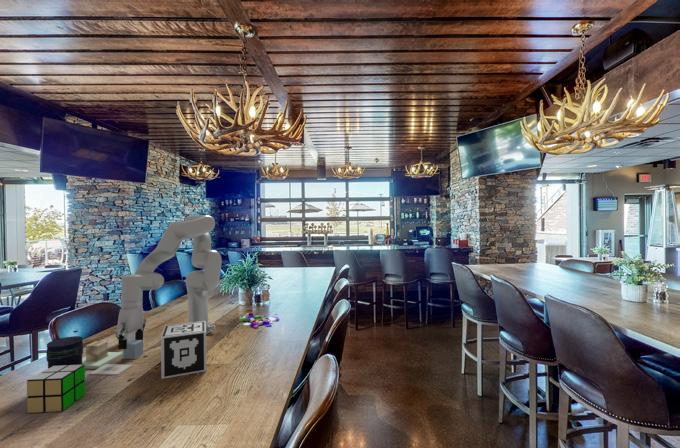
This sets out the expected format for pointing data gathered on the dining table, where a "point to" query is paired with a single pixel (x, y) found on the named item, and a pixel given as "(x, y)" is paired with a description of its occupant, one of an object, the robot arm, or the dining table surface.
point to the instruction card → (111, 369)
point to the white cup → (130, 336)
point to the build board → (103, 361)
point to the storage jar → (65, 351)
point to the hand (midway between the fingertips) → (131, 344)
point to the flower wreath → (258, 320)
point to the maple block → (96, 350)
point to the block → (183, 349)
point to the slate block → (133, 349)
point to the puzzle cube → (55, 388)
